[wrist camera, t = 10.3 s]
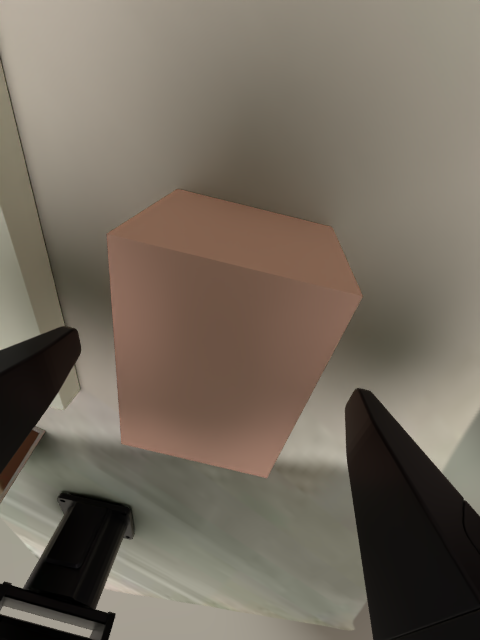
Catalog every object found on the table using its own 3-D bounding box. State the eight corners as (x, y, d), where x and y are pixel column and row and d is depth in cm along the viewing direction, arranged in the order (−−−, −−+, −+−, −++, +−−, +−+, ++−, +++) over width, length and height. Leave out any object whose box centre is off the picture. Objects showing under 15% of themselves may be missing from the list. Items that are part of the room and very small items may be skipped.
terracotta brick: (271, 379, 15) (266, 478, 11) (167, 354, 15) (121, 443, 11) (331, 225, 10) (363, 296, 6) (178, 188, 10) (106, 233, 6)
